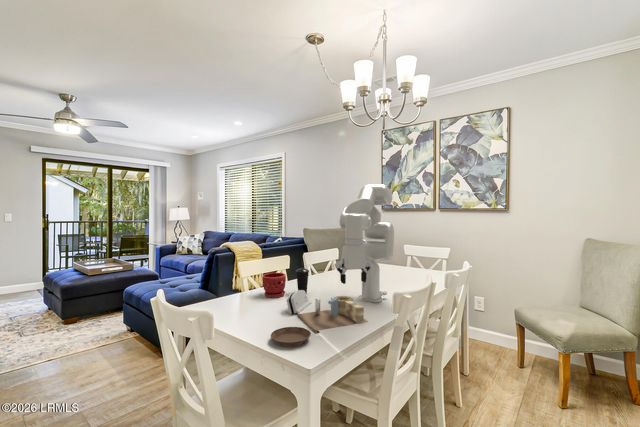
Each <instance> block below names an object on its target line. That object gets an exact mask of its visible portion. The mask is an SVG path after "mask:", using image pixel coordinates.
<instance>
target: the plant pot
mask: <svg viewBox="0 0 640 427" xmlns="http://www.w3.org/2000/svg"><path fill="white" fill-rule="evenodd" d="M261 276H262V278H261V280H262V287H263V290H264V296H265V297H268V298H270V299H271V298H274V299H275V298H280V297H283V296H285V294H286V290H285V288H286V281H287V277H286V276H287V274H286V273H283V272H270V273H265V274H262V275H261Z"/></svg>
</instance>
